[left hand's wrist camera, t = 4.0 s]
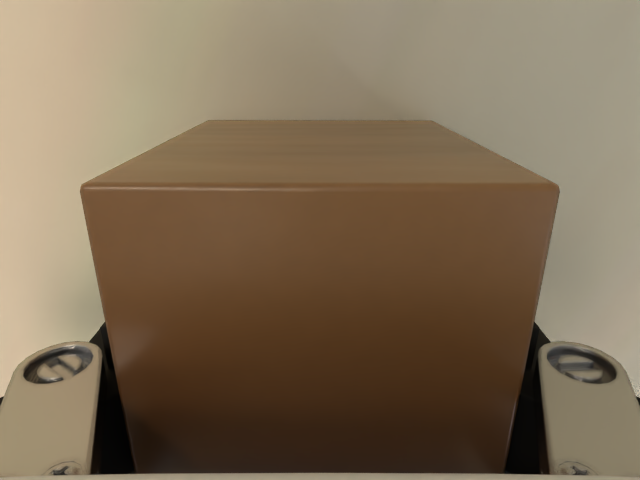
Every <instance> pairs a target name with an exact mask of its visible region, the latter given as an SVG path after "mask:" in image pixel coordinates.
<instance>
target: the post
mask: <svg viewBox="0 0 640 480" xmlns="http://www.w3.org/2000/svg"><path fill="white" fill-rule="evenodd" d="M80 194H81V199H82V204H83V209H84V214H85V219H86V225H87V230H88V235H89V240H90V245H91V250H92V255H93V261H94V266H95V271H96V276H97V281H98V286H99V291H100V297H101V302H102V307H103V312H104V317H105V322H106V327H107V333H108V338H109V343H110V348H111V353H112V358H113V363H114V369H115V374H116V379H117V384H118V389H119V394H120V399H121V405H122V410H123V415H124V420H125V425H126V430H127V435H128V441H129V446H130V451H131V456H132V461H133V466H134V471H135V474H180V473H460V474H504V473H505V468H506V463H507V457H508V452H509V447H510V442H511V437H512V432H513V427H514V422H515V417H516V412H517V406H518V401H519V396H520V391H521V386H522V381H523V376H524V371H525V366H526V361H527V356H528V350H529V345H530V340H531V335H532V330H533V325H534V320H535V315H536V310H537V305H538V299H539V294H540V289H541V284H542V279H543V274H544V269H545V264H546V259H547V254H548V248H549V243H550V238H551V233H552V228H553V223H554V218H555V213H556V208H557V203H558V197H559V186H558V185H557V184H555V183H553V182H551V181H549V180H547V179H545V178H543V177H541V176H540V175H538V174H536V173H534V172H532V171H530V170H528V169H526V168H524V167H522V166H520V165H518V164H516V163H514V162H512V161H510V160H508V159H506V158H504V157H502V156H500V155H498V154H496V153H494V152H492V151H490V150H489V149H487V148H485V147H483V146H481V145H479V144H477V143H475V142H473V141H471V140H469V139H467V138H465V137H463V136H461V135H459V134H457V133H455V132H453V131H451V130H449V129H447V128H445V127H443V126H441V125H439V124H438V123H436V122H434V121H305V120H208V121H206V122H204V123H202V124H200V125H198V126H196V127H194V128H192V129H190V130H188V131H186V132H184V133H182V134H180V135H178V136H176V137H174V138H172V139H170V140H168V141H166V142H164V143H162V144H161V145H159V146H157V147H155V148H153V149H151V150H149V151H147V152H145V153H143V154H141V155H139V156H137V157H135V158H133V159H131V160H129V161H127V162H125V163H123V164H121V165H119V166H117V167H115V168H113V169H111V170H109V171H107V172H105V173H103V174H101V175H99V176H97V177H95V178H93V179H91V180H90V181H88V182H86V183H84V184H82V185H81V189H80Z"/></svg>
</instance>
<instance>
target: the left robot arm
mask: <svg viewBox="0 0 640 480" xmlns="http://www.w3.org/2000/svg"><path fill="white" fill-rule="evenodd" d="M0 480H640V398H639V397H636V395H635V393H634V390H633V388H632V385H631V383H630V380H629V377H628V375H627V372H626V371H625V369H624V368H623V366H622V365H621V364H620V363H619V362H618V361H616V360H615V359H614V358H613V357H611V356H609V355H608V354H606V353H604V352H602V351H600V350H598V349H595V348H593V347H590V346H587V345H583V344H579V343H574V342H565V341H560V342H550V341H549V339H548V338H547V337H546V336H545V335H544V333H543V332H542V331H541V330H540V328H539V327H538V325H537V324H536V323H535V322H534V325H533V330H532V335H531V340H530V345H529V350H528V356H527V361H526V366H525V371H524V376H523V381H522V386H521V391H520V396H519V401H518V406H517V412H516V417H515V422H514V427H513V432H512V437H511V442H510V447H509V452H508V457H507V463H506V468H505V473H504V474H460V473H180V474H135V471H134V466H133V461H132V456H131V451H130V446H129V441H128V435H127V430H126V425H125V420H124V415H123V410H122V405H121V399H120V394H119V389H118V384H117V379H116V374H115V369H114V363H113V358H112V353H111V348H110V343H109V338H108V333H107V327H106V322H105V323H104V324H103V325H102V326H101V327H100V329H99V331H98V332H97V333H96V334H95V335H94V337H93V338H92V339H91V340H90V341H89V342H80V341H75V342H66V343H61V344H57V345H53V346H50V347H47V348H45V349H42V350H40V351H38V352H36V353H34V354H32V355H31V356H29V357H27V358H26V359H25V360H24V361H22V362H21V363H20V364H19V365H18V366H17V368H16V369H15V371H14V372H13V375H12V377H11V380H10V383H9V385H8V388H7V390H6V393H5V395H4V397H1V398H0Z"/></svg>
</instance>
